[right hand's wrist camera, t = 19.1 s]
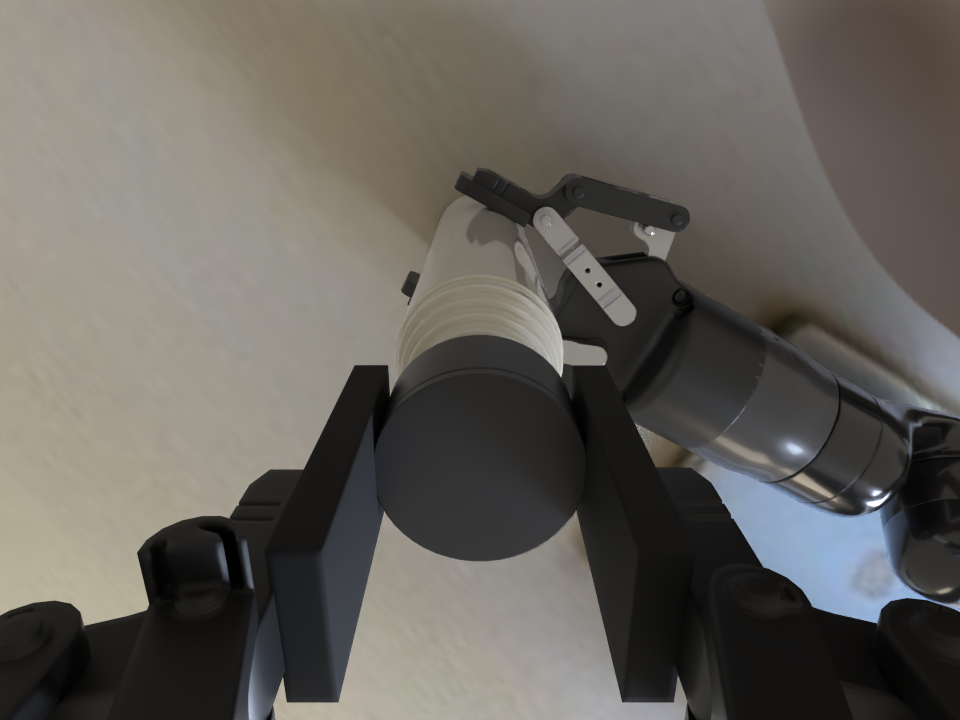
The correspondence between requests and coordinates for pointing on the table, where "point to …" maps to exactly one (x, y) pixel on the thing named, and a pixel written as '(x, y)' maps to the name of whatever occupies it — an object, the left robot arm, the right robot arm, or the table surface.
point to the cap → (480, 450)
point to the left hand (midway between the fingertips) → (432, 232)
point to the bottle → (479, 287)
